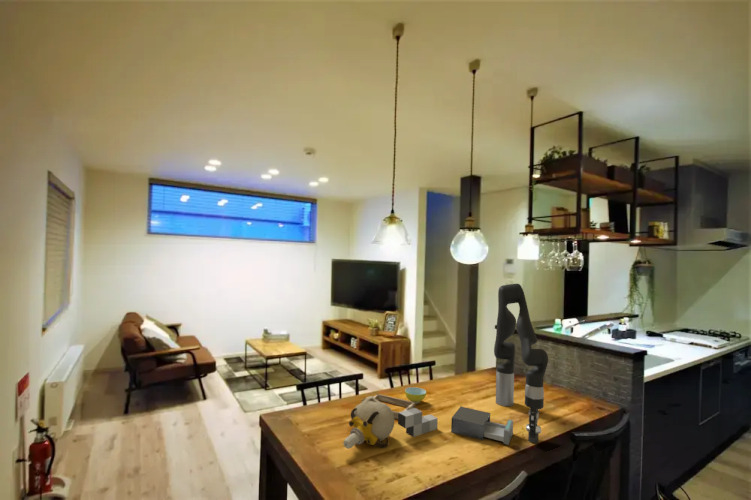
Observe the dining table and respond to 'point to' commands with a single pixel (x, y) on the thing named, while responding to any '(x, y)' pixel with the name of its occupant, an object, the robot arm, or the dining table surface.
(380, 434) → the decorative object
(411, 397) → the bowl
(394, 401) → the serving frame
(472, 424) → the housing
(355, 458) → the dining table surface
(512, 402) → the robot arm
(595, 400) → the dining table surface
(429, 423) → the block
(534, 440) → the capsule
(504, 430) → the tray
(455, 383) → the dining table surface
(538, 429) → the disc
